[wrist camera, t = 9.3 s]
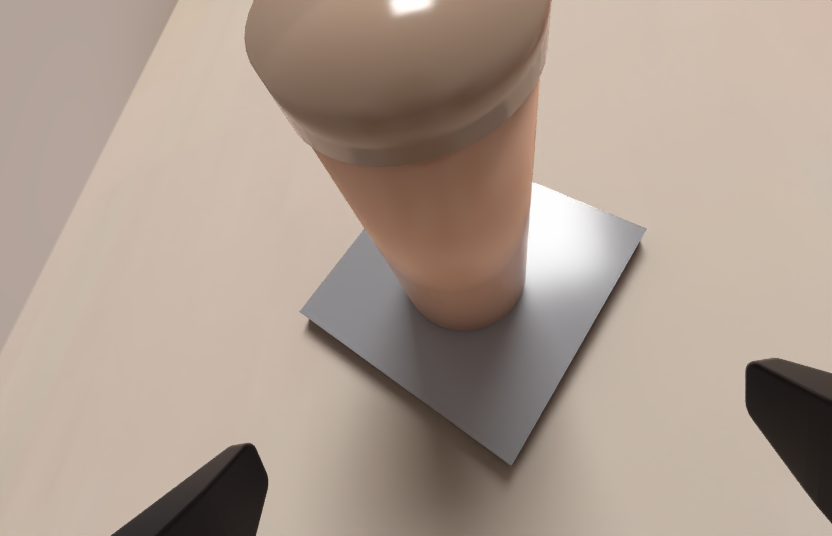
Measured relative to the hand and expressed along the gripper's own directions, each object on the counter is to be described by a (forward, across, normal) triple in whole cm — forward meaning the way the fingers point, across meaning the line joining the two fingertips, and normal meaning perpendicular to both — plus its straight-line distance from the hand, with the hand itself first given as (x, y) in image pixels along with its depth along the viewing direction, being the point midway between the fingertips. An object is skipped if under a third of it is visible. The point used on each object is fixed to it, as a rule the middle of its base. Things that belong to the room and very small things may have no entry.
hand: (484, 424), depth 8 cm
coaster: (+12, 0, +2) cm, 12 cm away
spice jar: (+11, 0, +1) cm, 11 cm away
